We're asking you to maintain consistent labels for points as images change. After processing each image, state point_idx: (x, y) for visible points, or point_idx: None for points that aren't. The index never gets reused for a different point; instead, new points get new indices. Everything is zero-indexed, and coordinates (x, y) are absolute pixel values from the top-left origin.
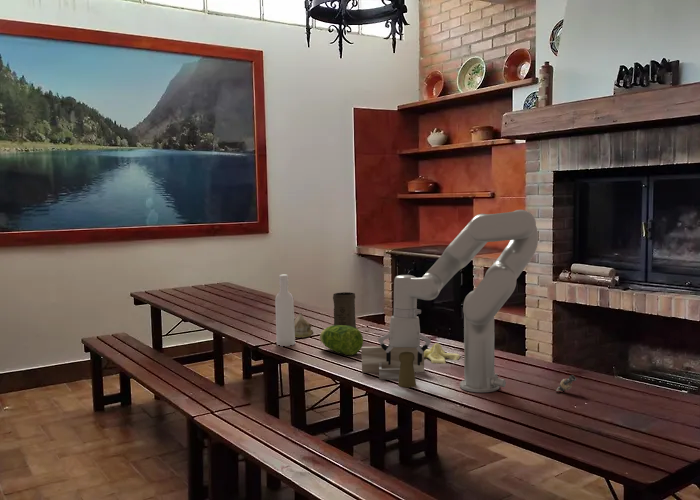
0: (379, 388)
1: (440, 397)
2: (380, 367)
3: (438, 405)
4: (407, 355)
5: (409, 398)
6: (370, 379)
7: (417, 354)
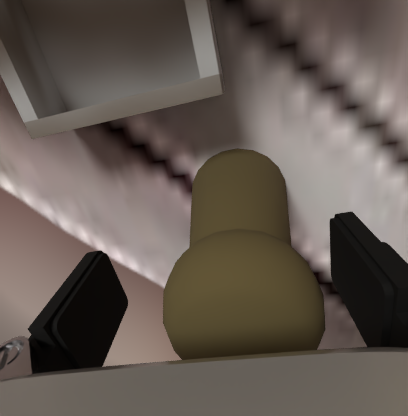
0: (128, 258)
1: None
2: (13, 82)
3: None
4: None
5: None
6: (27, 131)
7: (367, 266)
